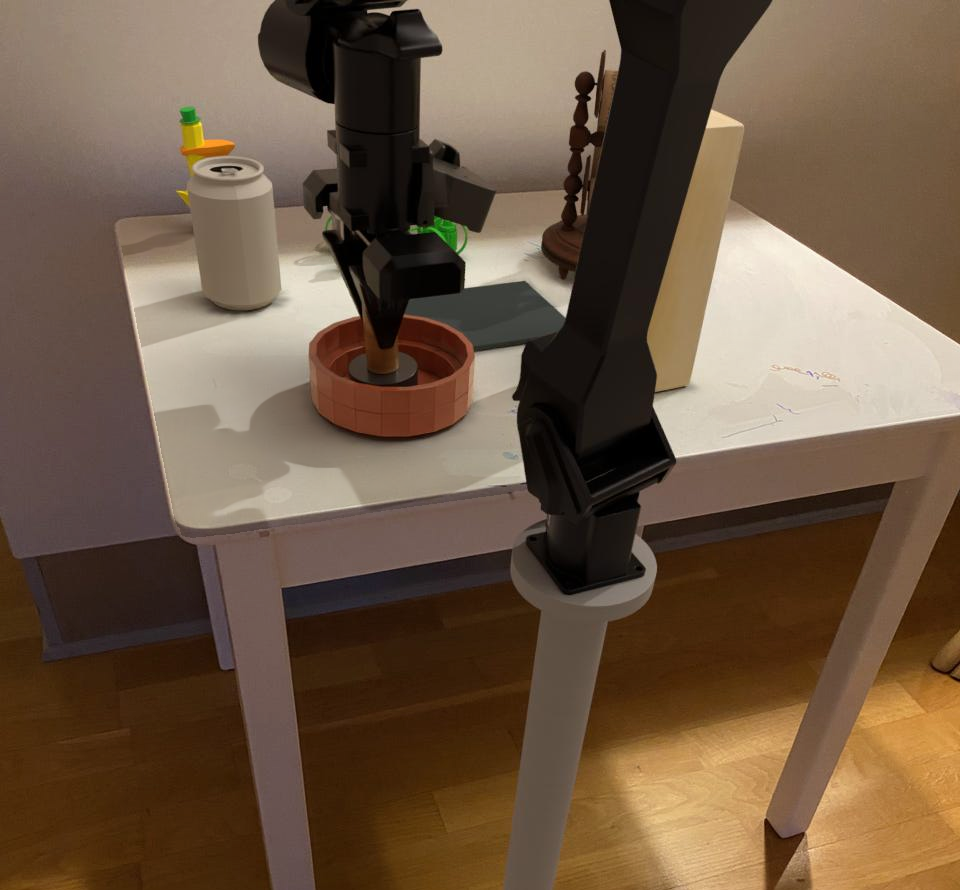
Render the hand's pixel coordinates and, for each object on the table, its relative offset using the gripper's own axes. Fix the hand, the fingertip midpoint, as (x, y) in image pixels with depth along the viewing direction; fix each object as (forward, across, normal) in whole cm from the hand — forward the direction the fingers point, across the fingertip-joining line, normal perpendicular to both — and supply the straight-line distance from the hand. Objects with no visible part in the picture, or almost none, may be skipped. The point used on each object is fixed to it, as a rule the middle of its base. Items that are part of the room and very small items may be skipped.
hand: (379, 339), depth 74 cm
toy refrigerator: (+6, -2, -23) cm, 24 cm away
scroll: (+5, +20, -33) cm, 39 cm away
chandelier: (+6, +29, -12) cm, 32 cm away
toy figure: (+6, +41, +5) cm, 42 cm away
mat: (+5, +12, -14) cm, 19 cm away
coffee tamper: (+5, 0, 0) cm, 5 cm away
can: (+6, +23, +6) cm, 24 cm away
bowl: (+6, 0, -1) cm, 6 cm away
